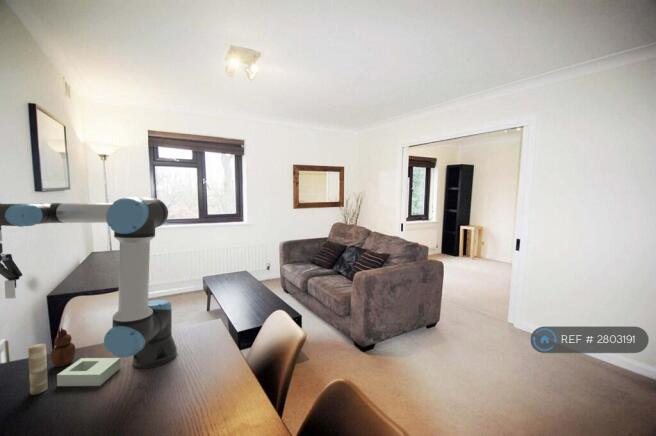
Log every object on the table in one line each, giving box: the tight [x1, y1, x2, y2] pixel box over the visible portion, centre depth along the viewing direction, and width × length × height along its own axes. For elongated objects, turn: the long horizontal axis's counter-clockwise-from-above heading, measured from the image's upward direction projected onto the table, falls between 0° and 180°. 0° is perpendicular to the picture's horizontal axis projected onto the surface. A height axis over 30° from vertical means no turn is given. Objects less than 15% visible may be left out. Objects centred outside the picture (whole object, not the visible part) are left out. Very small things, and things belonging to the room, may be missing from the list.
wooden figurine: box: [50, 327, 76, 368], centre depth 106 cm, size 7×6×15 cm
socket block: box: [56, 357, 121, 387], centre depth 100 cm, size 14×10×4 cm
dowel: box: [27, 343, 49, 396], centre depth 92 cm, size 4×4×15 cm
